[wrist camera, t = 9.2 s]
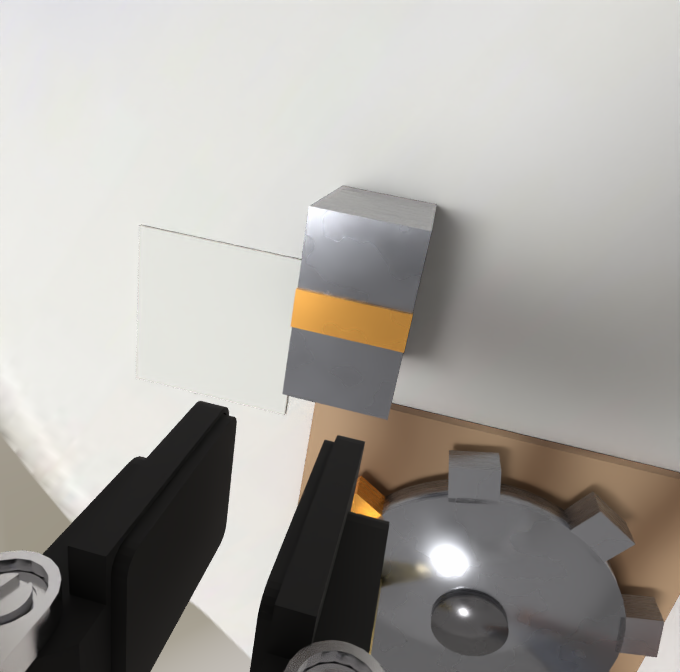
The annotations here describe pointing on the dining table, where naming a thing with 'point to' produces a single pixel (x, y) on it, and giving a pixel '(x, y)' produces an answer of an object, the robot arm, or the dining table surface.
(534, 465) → the board
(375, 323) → the grey rectangular block
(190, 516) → the robot arm
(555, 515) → the sprocket
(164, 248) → the pad
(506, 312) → the dining table surface
